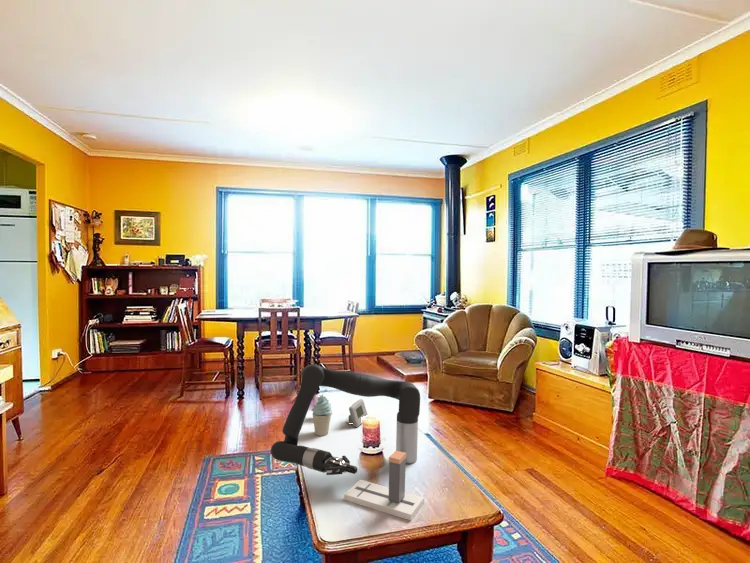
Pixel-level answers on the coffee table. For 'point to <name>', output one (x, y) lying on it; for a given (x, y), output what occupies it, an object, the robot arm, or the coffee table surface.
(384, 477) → the coffee table surface
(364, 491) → the plate
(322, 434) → the ice cream cone
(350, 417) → the digital clock
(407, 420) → the robot arm
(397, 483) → the post
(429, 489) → the coffee table surface
